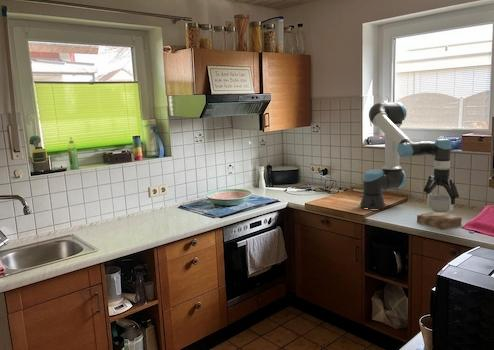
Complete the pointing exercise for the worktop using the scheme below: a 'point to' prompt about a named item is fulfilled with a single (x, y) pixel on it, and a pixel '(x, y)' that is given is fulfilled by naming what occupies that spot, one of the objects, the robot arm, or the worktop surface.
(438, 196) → the teacup
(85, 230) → the worktop surface
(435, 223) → the block
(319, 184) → the worktop surface
